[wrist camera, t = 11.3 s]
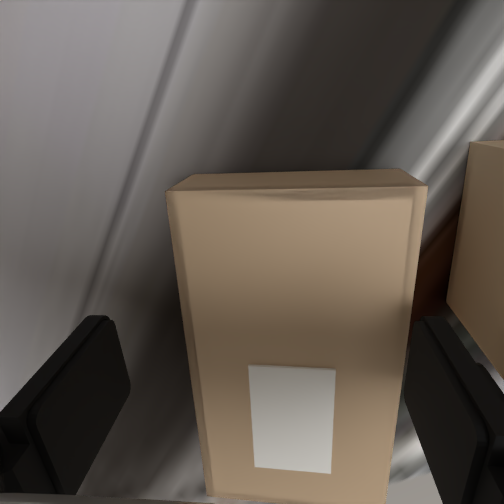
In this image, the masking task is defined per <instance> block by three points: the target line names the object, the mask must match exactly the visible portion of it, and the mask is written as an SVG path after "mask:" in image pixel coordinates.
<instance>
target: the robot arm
mask: <svg viewBox="0 0 504 504" xmlns="http://www.w3.org/2000/svg"><path fill="white" fill-rule="evenodd" d="M129 393H130V380H129V376H128V372H127V368H126V365H125V361H124V357H123V353H122V349H121V345H120V341H119V338H118V334H117V330H116V326H115V323H114V321H113V320H110V319H109V317H108V316H106V315H90V316H87V317H86V318H85V319H84V320H83V321H82V322H81V323H80V325H79V326H78V327H77V328H76V329H75V330H74V331H73V332H72V333H71V335H70V336H69V337H68V338H67V339H66V340H65V341H64V342H63V343H62V344H61V346H60V347H59V348H58V349H57V350H56V351H55V352H54V353H53V354H52V356H51V357H50V358H49V359H48V360H47V361H46V362H45V363H44V364H43V365H42V367H41V368H40V369H39V370H38V371H37V372H36V373H35V374H34V375H33V377H32V378H31V379H30V380H29V381H28V382H27V383H26V384H25V385H24V386H23V388H22V389H21V390H20V391H19V392H18V393H17V394H16V395H15V396H14V398H13V399H12V400H11V401H10V402H9V403H8V404H7V405H6V406H5V407H4V409H3V410H2V411H1V412H0V504H213V503H197V502H181V501H166V500H149V499H131V498H114V497H97V496H79V495H76V493H77V491H78V489H79V487H80V486H81V484H82V482H83V480H84V478H85V476H86V474H87V472H88V471H89V469H90V467H91V465H92V463H93V461H94V459H95V457H96V456H97V454H98V452H99V450H100V448H101V446H102V444H103V442H104V441H105V439H106V437H107V435H108V433H109V431H110V429H111V427H112V425H113V424H114V422H115V420H116V418H117V416H118V414H119V412H120V410H121V409H122V407H123V405H124V403H125V401H126V399H127V397H128V395H129ZM404 398H405V403H406V406H407V408H408V411H409V414H410V416H411V419H412V422H413V424H414V427H415V430H416V433H417V435H418V438H419V441H420V443H421V446H422V449H423V451H424V454H425V457H426V459H427V462H428V465H429V468H430V470H431V473H432V476H433V478H434V481H435V484H436V486H437V489H438V492H439V494H440V497H441V500H442V502H443V504H504V394H503V392H502V391H501V389H500V388H499V386H498V385H497V384H496V382H495V381H494V379H493V378H492V377H491V375H490V374H489V372H488V371H487V370H486V368H485V367H484V366H483V365H482V364H480V363H476V362H475V361H474V360H473V358H472V357H471V355H470V354H469V352H468V351H467V349H466V348H465V346H464V345H463V343H462V342H461V341H460V339H459V338H458V336H457V335H456V333H455V332H454V330H453V329H452V327H451V326H450V325H449V323H448V322H447V320H446V319H445V318H444V317H442V316H422V317H421V319H420V321H415V322H414V325H413V331H412V338H411V345H410V352H409V359H408V366H407V373H406V380H405V387H404Z"/></svg>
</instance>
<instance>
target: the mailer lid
mask: <svg viewBox="0 0 504 504" xmlns="http://www.w3.org/2000/svg"><path fill="white" fill-rule="evenodd" d="M427 191H428V186H427V185H425V184H424V183H422V182H421V181H419V180H417V179H416V178H414V177H413V176H411V175H409V174H408V173H406V172H405V171H403V170H401V169H371V170H334V171H297V172H259V173H222V174H193V175H191V176H190V177H188V178H186V179H185V180H183V181H181V182H180V183H178V184H176V185H175V186H173V187H171V188H170V189H168V190H167V191H165V196H166V203H167V210H168V217H169V225H170V232H171V239H172V246H173V254H174V261H175V268H176V275H177V282H178V290H179V297H180V304H181V311H182V318H183V326H184V333H185V340H186V347H187V354H188V362H189V369H190V376H191V383H192V390H193V398H194V405H195V412H196V419H197V426H198V434H199V441H200V448H201V455H202V462H203V470H204V477H205V484H206V491H207V496H211V497H221V498H230V499H240V500H250V501H260V502H269V503H279V504H385V503H386V496H387V488H388V481H389V474H390V466H391V459H392V451H393V444H394V436H395V429H396V422H397V414H398V407H399V399H400V392H401V384H402V377H403V370H404V362H405V355H406V347H407V340H408V332H409V325H410V317H411V310H412V303H413V295H414V288H415V280H416V273H417V265H418V258H419V251H420V243H421V236H422V228H423V221H424V213H425V206H426V198H427Z"/></svg>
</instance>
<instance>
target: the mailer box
mask: <svg viewBox="0 0 504 504" xmlns="http://www.w3.org/2000/svg"><path fill="white" fill-rule="evenodd" d="M446 302H447V304H448V305H449V306H450V308H451V309H452V311H453V312H454V313H455V315H456V316H457V317H458V319H459V320H460V321H461V323H462V324H463V325H464V327H465V328H466V329H467V331H468V332H469V334H470V335H471V336H472V338H473V339H474V340H475V342H476V343H477V344H478V346H479V347H480V348H481V350H482V351H483V353H484V354H485V355H486V357H487V358H488V359H489V361H490V362H491V363H492V365H493V366H494V367H495V369H496V370H497V371H498V373H499V374H500V376H501V377H502V378H503V380H504V140H494V141H475V142H470V148H469V155H468V161H467V168H466V174H465V181H464V187H463V194H462V200H461V207H460V214H459V220H458V227H457V233H456V240H455V246H454V253H453V259H452V266H451V272H450V279H449V285H448V292H447V299H446Z"/></svg>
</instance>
